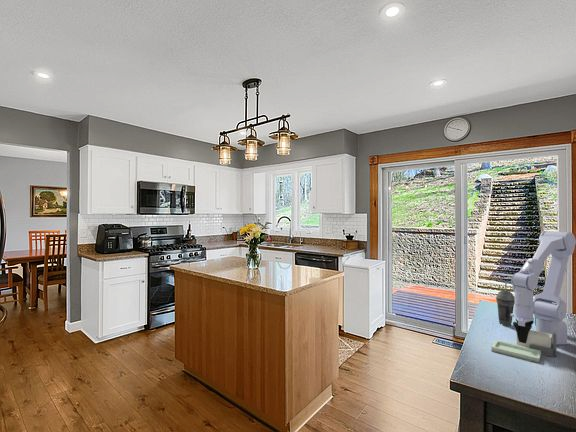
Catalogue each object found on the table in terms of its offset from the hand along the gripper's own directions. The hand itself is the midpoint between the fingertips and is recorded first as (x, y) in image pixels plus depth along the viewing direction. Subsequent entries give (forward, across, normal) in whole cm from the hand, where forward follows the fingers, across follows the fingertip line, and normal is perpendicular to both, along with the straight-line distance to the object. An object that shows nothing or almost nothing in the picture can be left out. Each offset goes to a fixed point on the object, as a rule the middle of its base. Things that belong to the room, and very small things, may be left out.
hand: (523, 340), depth 118 cm
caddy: (+2, 0, +3) cm, 4 cm away
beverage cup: (+2, -24, -9) cm, 26 cm away
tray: (+2, +10, -1) cm, 10 cm away
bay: (+2, 0, +6) cm, 6 cm away
